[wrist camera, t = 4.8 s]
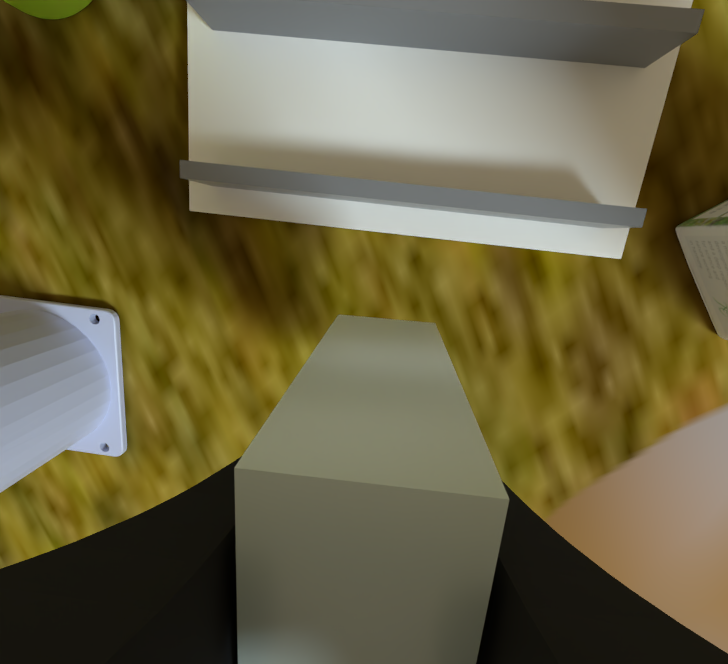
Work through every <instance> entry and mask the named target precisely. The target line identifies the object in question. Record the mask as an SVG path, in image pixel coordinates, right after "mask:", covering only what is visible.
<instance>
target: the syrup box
mask: <svg viewBox="0 0 728 664" xmlns="http://www.w3.org/2000/svg"><path fill="white" fill-rule="evenodd" d="M675 230H676V233H677V236H678V239H679V242H680V244H681V248H682V250H683V253H684V255H685V258H686V261H687V263H688V266H689V268H690V271H691V273H692V275H693V278H694V280H695V283H696V285H697V287H698V290H699V292H700V294H701V297H702V299H703V302H704V304H705V306H706V309H707V311H708V313H709V316H710V318H711V321H712V323H713V325H714V327H715V329H716V332H717V334H718V336H720V337H721V338H723V339H726V340H728V200H726V201H724V202H722V203H720V204H718V205H716V206H714V207H712V208H710V209H708V210H707V211H705V212H703V213H701V214H699V215H697V216H695V217H693V218H691V219H689V220H687V221H685V222H683V223H682V224H680V225H678V226H677V227H676V229H675Z"/></svg>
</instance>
